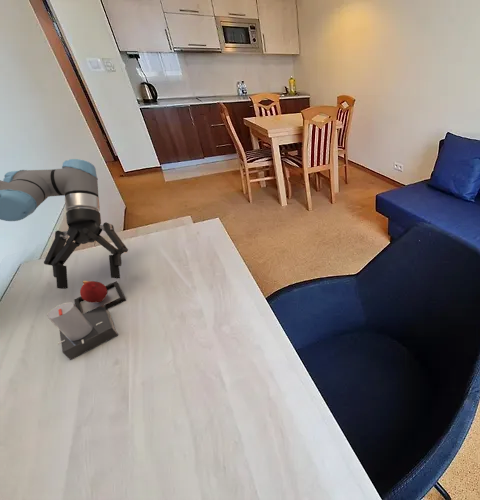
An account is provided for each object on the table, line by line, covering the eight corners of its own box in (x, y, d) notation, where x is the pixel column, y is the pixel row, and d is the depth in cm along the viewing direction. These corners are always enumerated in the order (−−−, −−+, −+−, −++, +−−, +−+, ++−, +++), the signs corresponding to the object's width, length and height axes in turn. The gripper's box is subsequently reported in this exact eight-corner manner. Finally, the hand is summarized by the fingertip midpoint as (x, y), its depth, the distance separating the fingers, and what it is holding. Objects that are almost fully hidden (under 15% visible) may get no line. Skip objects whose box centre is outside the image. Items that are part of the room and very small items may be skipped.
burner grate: (76, 302, 89) (73, 299, 88) (118, 283, 94) (116, 280, 94) (80, 322, 82) (78, 318, 81) (126, 300, 88) (124, 297, 87)
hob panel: (62, 333, 79) (55, 325, 77) (109, 311, 84) (103, 303, 82) (67, 363, 71) (58, 355, 69) (118, 336, 76) (112, 328, 75)
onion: (110, 291, 91) (95, 271, 87) (114, 300, 88) (99, 279, 83) (87, 302, 88) (71, 281, 84) (91, 311, 85) (73, 290, 80)
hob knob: (67, 333, 75) (45, 309, 70) (91, 321, 77) (71, 298, 72) (69, 344, 71) (46, 320, 67) (94, 332, 74) (73, 308, 69)
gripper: (136, 208, 94) (144, 275, 90) (47, 223, 90) (51, 293, 87) (121, 199, 86) (129, 272, 83) (23, 215, 83) (26, 292, 79)
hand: (89, 283), depth 85 cm, fingers open, 13 cm apart
